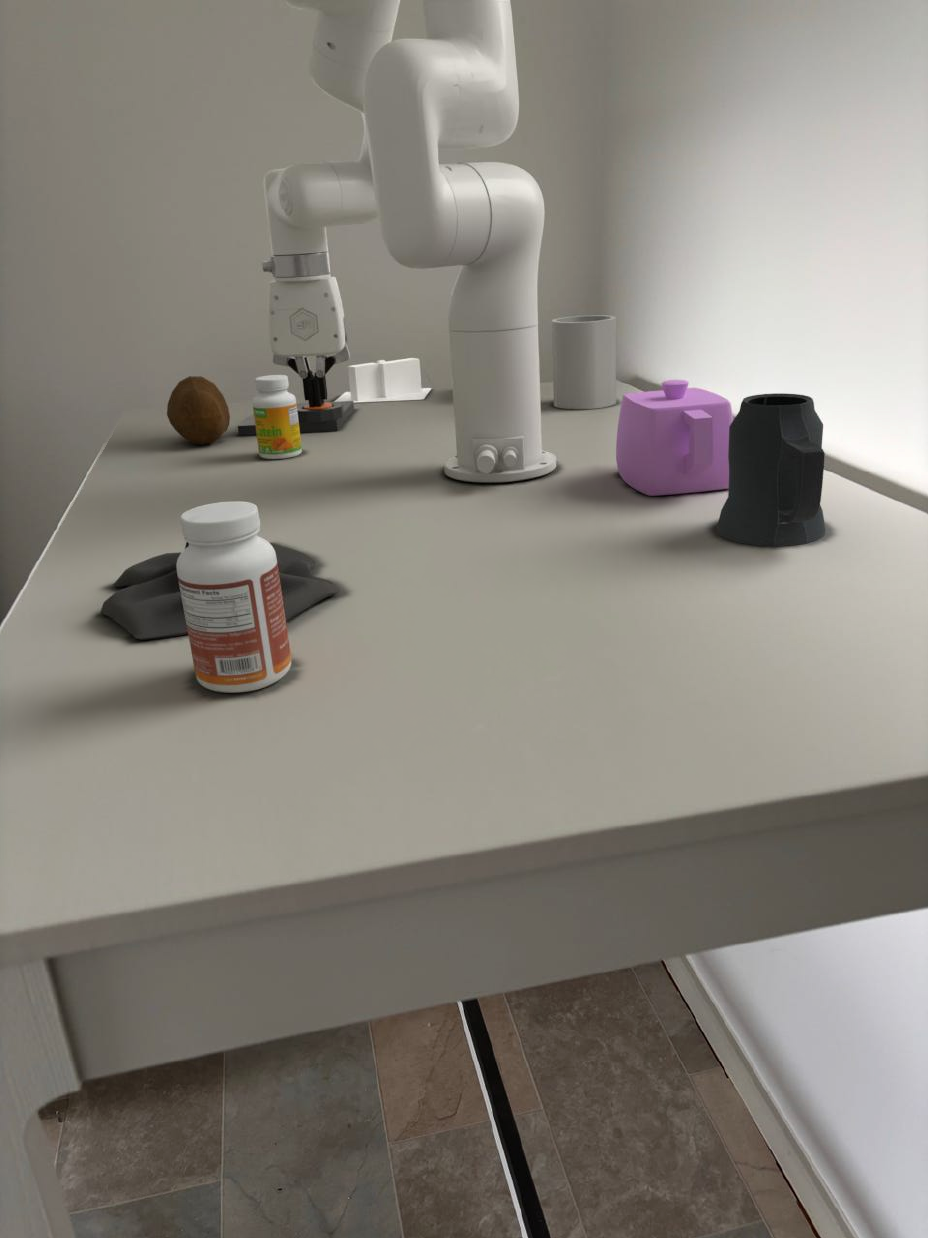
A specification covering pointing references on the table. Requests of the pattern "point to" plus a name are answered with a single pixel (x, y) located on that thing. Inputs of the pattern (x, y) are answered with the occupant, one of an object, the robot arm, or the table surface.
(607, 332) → the cup
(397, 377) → the napkin holder
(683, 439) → the teapot
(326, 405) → the button
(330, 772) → the table surface
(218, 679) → the pill bottle
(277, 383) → the supplement bottle
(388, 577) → the table surface
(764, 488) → the mug
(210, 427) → the potato
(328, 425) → the dark grey button base
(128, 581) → the cloth
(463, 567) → the table surface
